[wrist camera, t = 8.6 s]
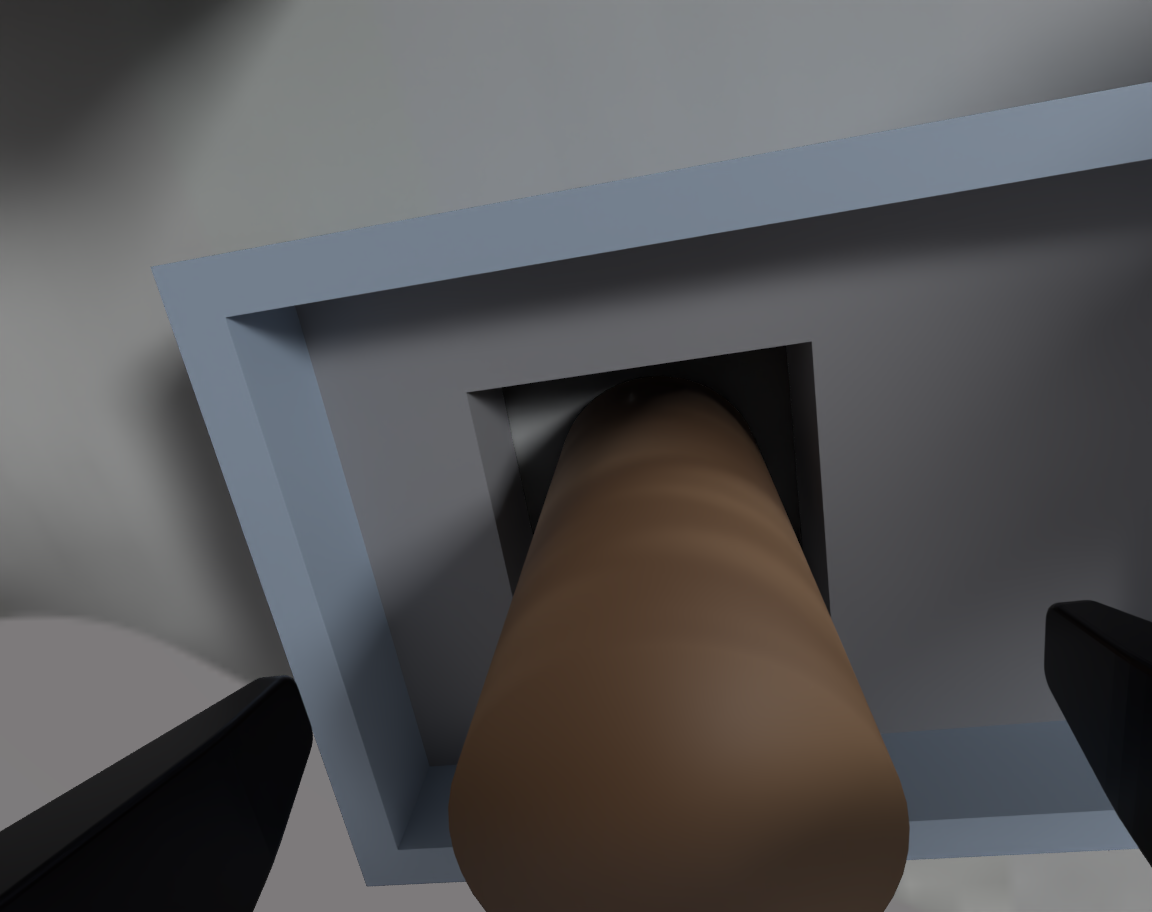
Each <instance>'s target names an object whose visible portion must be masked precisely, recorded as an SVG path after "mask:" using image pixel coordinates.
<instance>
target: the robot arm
mask: <svg viewBox="0 0 1152 912" xmlns="http://www.w3.org/2000/svg"><path fill="white" fill-rule="evenodd" d="M1044 673H1045V678H1046V681H1047V684H1048V687H1049V689H1050V691H1051V693H1052V695H1053V697H1054V699H1055V700H1056V702H1057V704H1058V706H1059V708H1060V710H1061V712H1062V714H1063V715H1064V717H1065V719H1066V721H1067V723H1068V725H1069V727H1070V729H1071V731H1072V732H1073V734H1074V736H1075V738H1076V740H1077V742H1078V744H1079V746H1080V747H1081V749H1082V751H1083V753H1084V755H1085V757H1086V759H1087V761H1088V762H1089V764H1090V766H1091V768H1092V770H1093V772H1094V774H1095V776H1096V778H1097V779H1098V781H1099V783H1100V785H1101V787H1102V789H1103V791H1104V793H1105V794H1106V796H1107V798H1108V800H1109V801H1110V803H1111V805H1112V807H1113V808H1114V810H1115V812H1116V814H1117V815H1118V817H1119V819H1120V820H1121V822H1122V823H1123V825H1124V826H1125V828H1126V829H1127V831H1128V833H1129V834H1130V836H1131V837H1132V839H1133V840H1134V842H1135V843H1136V845H1137V846H1138V848H1139V849H1140V851H1141V852H1142V854H1143V855H1144V857H1145V858H1146V860H1147V861H1148V862H1149V864H1150V865H1151V867H1152V622H1151V621H1148V620H1145V619H1143V618H1140V617H1137V616H1134V615H1132V614H1129V613H1126V612H1124V611H1121V610H1118V609H1115V608H1113V607H1110V606H1107V605H1105V604H1102V603H1099V602H1096V601H1093V600H1078V601H1068V602H1058V603H1054V604H1052V605H1051V606H1050V607H1049V608H1048V610H1047V613H1046V621H1045V646H1044ZM312 741H313V733H312V727H311V723H310V720H309V717H308V715H307V712H306V709H305V706H304V703H303V700H302V697H301V694H300V692H299V689H298V686H297V684H296V682H295V681H294V679H293V678H291V677H289V676H286V675H285V676H273V677H262V678H259V679H256V680H254V681H253V682H251V683H249V684H247V685H246V686H244V687H242V688H241V689H239V690H237V691H236V692H234V693H233V694H231V695H229V696H227V697H226V698H224V699H222V700H221V701H219V702H217V703H216V704H214V705H212V706H211V707H209V708H207V709H205V710H204V711H202V712H200V713H199V714H197V715H195V716H194V717H192V718H190V719H189V720H187V721H185V722H184V723H182V724H180V725H179V726H177V727H175V728H174V729H172V730H170V731H168V732H167V733H165V734H163V735H162V736H160V737H159V738H157V739H155V740H153V741H152V742H150V743H148V744H147V745H145V746H143V747H142V748H140V749H138V750H137V751H135V752H133V753H131V754H130V755H128V756H126V757H125V758H123V759H121V760H120V761H118V762H116V763H115V764H113V765H111V766H110V767H108V768H106V769H105V770H103V771H101V772H100V773H98V774H96V775H95V776H93V777H91V778H89V779H88V780H86V781H85V782H83V783H81V784H79V785H78V786H76V787H74V788H73V789H71V790H69V791H68V792H66V793H64V794H63V795H61V796H59V797H58V798H56V799H54V800H52V801H51V802H49V803H47V804H46V805H44V806H42V807H41V808H39V809H38V810H36V811H34V812H32V813H31V814H29V815H27V816H26V817H24V818H22V819H21V820H19V821H17V822H16V823H14V824H12V825H11V826H9V827H7V828H5V829H4V830H2V831H1V832H0V912H253V910H254V908H255V906H256V903H257V901H258V899H259V896H260V894H261V892H262V890H263V887H264V885H265V883H266V880H267V878H268V875H269V873H270V870H271V868H272V865H273V863H274V860H275V857H276V854H277V851H278V849H279V846H280V843H281V840H282V837H283V834H284V831H285V828H286V825H287V822H288V819H289V815H290V812H291V809H292V806H293V803H294V800H295V797H296V794H297V791H298V788H299V785H300V781H301V778H302V775H303V772H304V769H305V766H306V763H307V760H308V757H309V754H310V750H311V747H312Z"/></svg>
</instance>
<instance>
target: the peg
mask: <svg viewBox="0 0 1152 912" xmlns="http://www.w3.org/2000/svg"><path fill="white" fill-rule="evenodd" d="M448 816H449V832H450V837H451V842H452V846H453V851H454V854H455V857H456V860H457V862H458V865H459V868H460V870H461V873H462V875H463V877H464V879H465V880H466V882H467V884H468V886H469V887H470V889H471V891H472V893H473V895H474V896H475V897H476V899H477V900H478V901H479V903H480V904H481V905H482V907H483V908H484V909H485V911H486V912H884V910H885V909H886V907H887V906H888V904H889V903H890V901H891V899H892V898H893V896H894V894H895V892H896V889H897V887H898V885H899V882H900V880H901V878H902V875H903V872H904V868H905V864H906V859H907V855H908V851H909V833H910V824H909V816H908V808H907V802H906V798H905V795H904V792H903V788H902V785H901V782H900V779H899V776H898V774H897V772H896V769H895V767H894V765H893V762H892V760H891V758H890V755H889V753H888V751H887V748H886V746H885V744H884V741H883V739H882V736H881V734H880V732H879V729H878V727H877V725H876V722H875V720H874V718H873V715H872V713H871V711H870V708H869V706H868V704H867V701H866V699H865V697H864V694H863V692H862V690H861V687H860V685H859V683H858V680H857V678H856V675H855V673H854V671H853V668H852V666H851V664H850V661H849V659H848V657H847V654H846V652H845V650H844V647H843V645H842V643H841V640H840V638H839V636H838V633H837V631H836V629H835V626H834V624H833V622H832V619H831V617H830V615H829V612H828V610H827V607H826V605H825V603H824V600H823V598H822V596H821V593H820V591H819V589H818V586H817V584H816V582H815V579H814V577H813V575H812V572H811V570H810V568H809V565H808V563H807V561H806V558H805V556H804V554H803V551H802V549H801V547H800V544H799V542H798V539H797V537H796V535H795V532H794V530H793V528H792V525H791V523H790V521H789V518H788V516H787V514H786V511H785V509H784V507H783V504H782V502H781V500H780V497H779V495H778V493H777V490H776V488H775V486H774V483H773V481H772V478H771V476H770V474H769V471H768V469H767V467H766V464H765V462H764V460H763V457H762V455H761V453H760V450H759V448H758V446H757V443H756V441H755V439H754V436H753V434H752V432H751V430H750V428H749V426H748V424H747V423H746V421H745V420H744V418H743V417H742V415H741V414H740V413H739V412H738V411H737V409H736V408H735V407H734V406H733V405H732V404H731V403H730V402H729V401H727V400H726V399H725V398H724V397H723V396H721V395H720V394H718V393H717V392H715V391H713V390H712V389H710V388H708V387H706V386H704V385H701V384H699V383H697V382H693V381H690V380H687V379H682V378H677V377H668V376H653V377H643V378H638V379H634V380H630V381H627V382H624V383H621V384H619V385H617V386H615V387H613V388H611V389H609V390H607V391H605V392H604V393H602V394H601V395H599V396H598V397H596V398H595V399H594V400H593V401H592V402H591V403H590V404H588V405H587V406H586V407H585V409H584V410H583V411H582V412H581V413H580V414H579V415H578V417H577V418H576V420H575V422H574V423H573V425H572V426H571V428H570V430H569V432H568V435H567V437H566V439H565V442H564V445H563V448H562V451H561V454H560V457H559V460H558V463H557V466H556V469H555V472H554V475H553V478H552V481H551V484H550V487H549V490H548V493H547V496H546V499H545V502H544V505H543V508H542V511H541V514H540V517H539V520H538V523H537V526H536V529H535V532H534V535H533V538H532V541H531V544H530V547H529V550H528V553H527V556H526V559H525V562H524V565H523V568H522V571H521V574H520V577H519V580H518V583H517V586H516V589H515V592H514V595H513V598H512V601H511V604H510V607H509V610H508V613H507V616H506V619H505V622H504V625H503V628H502V631H501V634H500V637H499V640H498V643H497V646H496V649H495V652H494V655H493V658H492V661H491V664H490V667H489V670H488V673H487V676H486V679H485V682H484V685H483V688H482V691H481V695H480V698H479V701H478V704H477V707H476V710H475V713H474V716H473V719H472V722H471V725H470V728H469V731H468V734H467V737H466V740H465V743H464V746H463V749H462V752H461V755H460V758H459V761H458V764H457V767H456V770H455V773H454V777H453V780H452V783H451V789H450V797H449V805H448Z"/></svg>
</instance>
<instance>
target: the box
mask: <svg viewBox="0 0 1152 912" xmlns="http://www.w3.org/2000/svg"><path fill="white" fill-rule="evenodd" d="M151 269H152V272H153V275H154V278H155V281H156V284H157V287H158V289H159V292H160V295H161V298H162V301H163V304H164V307H165V310H166V312H167V315H168V318H169V321H170V324H171V327H172V330H173V332H174V335H175V338H176V341H177V344H178V347H179V350H180V353H181V355H182V358H183V361H184V364H185V367H186V370H187V373H188V375H189V378H190V381H191V384H192V387H193V390H194V393H195V395H196V398H197V401H198V404H199V407H200V410H201V413H202V416H203V418H204V421H205V424H206V427H207V430H208V433H209V436H210V438H211V441H212V444H213V447H214V450H215V453H216V456H217V459H218V461H219V464H220V467H221V470H222V473H223V476H224V479H225V481H226V484H227V487H228V490H229V493H230V496H231V499H232V502H233V504H234V507H235V510H236V513H237V516H238V519H239V522H240V524H241V527H242V530H243V533H244V536H245V539H246V542H247V545H248V547H249V550H250V553H251V556H252V559H253V562H254V565H255V567H256V570H257V573H258V576H259V579H260V582H261V585H262V588H263V590H264V593H265V596H266V599H267V602H268V605H269V608H270V610H271V613H272V616H273V619H274V622H275V625H276V628H277V630H278V633H279V636H280V639H281V642H282V645H283V648H284V651H285V653H286V656H287V659H288V662H289V665H290V668H291V671H292V673H293V676H294V679H295V682H296V684H297V686H298V689H299V692H300V694H301V697H302V700H303V703H304V706H305V709H306V712H307V715H308V717H309V720H310V723H311V727H312V731H313V733H314V737H315V739H316V742H317V745H318V748H319V750H320V754H321V757H322V759H323V762H324V765H325V768H326V771H327V774H328V777H329V780H330V782H331V785H332V788H333V791H334V793H335V797H336V800H337V802H338V805H339V808H340V811H341V814H342V817H343V820H344V823H345V825H346V828H347V830H348V834H349V837H350V840H351V842H352V845H353V848H354V851H355V854H356V857H357V860H358V862H359V865H360V868H361V871H362V874H363V877H364V880H365V883H366V886H385V885H406V884H426V883H446V882H466V880H465V879H464V877H463V875H462V873H461V870H460V868H459V865H458V862H457V860H456V857H455V854H454V851H453V846H452V842H451V837H450V832H449V816H448V805H449V797H450V789H451V783H452V780H453V777H454V773H455V770H456V767H457V764H458V761H459V758H460V755H461V752H462V749H463V746H464V743H465V740H466V737H467V734H468V731H469V728H470V725H471V722H472V719H473V716H474V713H475V710H476V707H477V704H478V701H479V698H480V695H481V691H482V688H483V685H484V682H485V679H486V676H487V673H488V670H489V667H490V664H491V661H492V658H493V655H494V652H495V649H496V646H497V643H498V640H499V637H500V634H501V631H502V628H503V625H504V622H505V619H506V616H507V613H508V610H509V607H510V604H511V601H512V598H513V595H514V592H515V589H516V586H517V583H518V580H519V577H520V574H521V571H522V568H523V565H524V562H525V559H526V556H527V553H528V550H529V547H530V544H531V541H532V538H533V534H532V529H531V525H530V520H529V515H528V510H527V505H526V501H525V496H524V491H523V486H522V482H521V477H520V472H519V467H518V463H517V458H516V453H515V448H514V444H513V439H512V434H511V429H510V424H509V420H508V415H507V410H506V405H505V401H504V396H503V391H502V387H507V386H513V385H520V384H527V383H534V382H541V381H547V380H554V379H561V378H568V377H574V376H581V375H588V374H595V373H601V372H608V371H615V370H622V369H629V368H635V367H642V366H649V365H656V364H662V363H669V362H676V361H683V360H689V359H696V358H703V357H710V356H716V355H723V354H730V353H737V352H744V351H750V350H757V349H764V348H771V347H777V346H784V345H786V349H787V361H788V374H789V386H790V398H791V411H792V423H793V436H794V448H795V461H796V473H797V486H798V498H799V510H800V523H801V535H802V548H803V554H804V556H805V558H806V561H807V563H808V565H809V568H810V570H811V572H812V575H813V577H814V579H815V582H816V584H817V586H818V589H819V591H820V593H821V596H822V598H823V600H824V603H825V605H826V607H827V610H828V612H829V615H830V617H831V619H832V622H833V624H834V626H835V629H836V631H837V633H838V636H839V638H840V640H841V643H842V645H843V647H844V650H845V652H846V654H847V657H848V659H849V661H850V664H851V666H852V668H853V671H854V673H855V675H856V678H857V680H858V683H859V685H860V687H861V690H862V692H863V694H864V697H865V699H866V701H867V704H868V706H869V708H870V711H871V713H872V715H873V718H874V720H875V722H876V725H877V727H878V729H879V732H880V734H881V736H882V739H883V741H884V744H885V746H886V748H887V751H888V753H889V755H890V758H891V760H892V762H893V765H894V767H895V769H896V772H897V774H898V776H899V779H900V782H901V785H902V788H903V792H904V795H905V798H906V802H907V808H908V816H909V824H910V833H909V851H908V855H907V859H906V860H917V859H937V858H957V857H978V856H998V855H1019V854H1039V853H1060V852H1080V851H1101V850H1121V849H1139V848H1138V846H1137V845H1136V843H1135V842H1134V840H1133V839H1132V837H1131V836H1130V834H1129V833H1128V831H1127V829H1126V828H1125V826H1124V825H1123V823H1122V822H1121V820H1120V819H1119V817H1118V815H1117V814H1116V812H1115V810H1114V808H1113V807H1112V805H1111V803H1110V801H1109V800H1108V798H1107V796H1106V794H1105V793H1104V791H1103V789H1102V787H1101V785H1100V783H1099V781H1098V779H1097V778H1096V776H1095V774H1094V772H1093V770H1092V768H1091V766H1090V764H1089V762H1088V761H1087V759H1086V757H1085V755H1084V753H1083V751H1082V749H1081V747H1080V746H1079V744H1078V742H1077V740H1076V738H1075V736H1074V734H1073V732H1072V731H1071V729H1070V727H1069V725H1068V723H1067V721H1066V719H1065V717H1064V715H1063V714H1062V712H1061V710H1060V708H1059V706H1058V704H1057V702H1056V700H1055V699H1054V697H1053V695H1052V693H1051V691H1050V689H1049V687H1048V684H1047V681H1046V678H1045V673H1044V646H1045V621H1046V613H1047V610H1048V608H1049V607H1050V606H1051V605H1052V604H1054V603H1058V602H1068V601H1078V600H1093V601H1096V602H1099V603H1102V604H1105V605H1107V606H1110V607H1113V608H1115V609H1118V610H1121V611H1124V612H1126V613H1129V614H1132V615H1134V616H1137V617H1140V618H1143V619H1145V620H1148V621H1151V622H1152V82H1148V83H1142V84H1137V85H1132V86H1126V87H1121V88H1115V89H1110V90H1105V91H1099V92H1094V93H1088V94H1083V95H1077V96H1072V97H1067V98H1061V99H1056V100H1050V101H1045V102H1040V103H1034V104H1029V105H1023V106H1018V107H1013V108H1007V109H1002V110H996V111H991V112H986V113H980V114H975V115H969V116H964V117H959V118H953V119H948V120H942V121H937V122H931V123H926V124H921V125H915V126H910V127H904V128H899V129H894V130H888V131H883V132H877V133H872V134H867V135H861V136H856V137H850V138H845V139H840V140H834V141H829V142H823V143H818V144H813V145H807V146H802V147H796V148H791V149H785V150H780V151H775V152H769V153H764V154H758V155H753V156H748V157H742V158H737V159H731V160H726V161H721V162H715V163H710V164H704V165H699V166H694V167H688V168H683V169H677V170H672V171H667V172H661V173H656V174H650V175H645V176H639V177H634V178H629V179H623V180H618V181H612V182H607V183H602V184H596V185H591V186H585V187H580V188H575V189H569V190H564V191H558V192H553V193H548V194H542V195H537V196H531V197H526V198H521V199H515V200H510V201H504V202H499V203H493V204H488V205H483V206H477V207H472V208H466V209H461V210H456V211H450V212H445V213H439V214H434V215H429V216H423V217H418V218H412V219H407V220H402V221H396V222H391V223H385V224H380V225H375V226H369V227H364V228H358V229H353V230H347V231H342V232H337V233H331V234H326V235H320V236H315V237H310V238H304V239H299V240H293V241H288V242H283V243H277V244H272V245H266V246H261V247H256V248H250V249H245V250H239V251H234V252H229V253H223V254H218V255H212V256H207V257H201V258H196V259H191V260H185V261H180V262H174V263H169V264H164V265H158V266H153V267H151Z"/></svg>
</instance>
